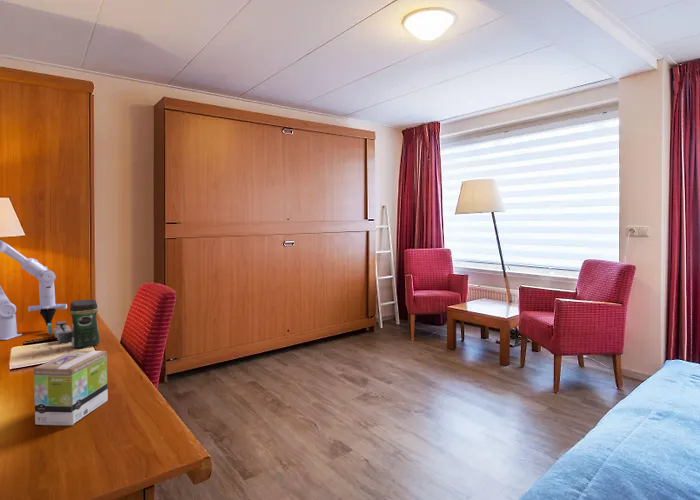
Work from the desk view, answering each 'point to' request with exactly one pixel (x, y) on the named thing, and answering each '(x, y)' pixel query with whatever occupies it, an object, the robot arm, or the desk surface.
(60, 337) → the tong arm
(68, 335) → the tongs base
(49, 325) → the lock tab
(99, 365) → the tea box
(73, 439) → the desk surface
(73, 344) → the coffee jar
